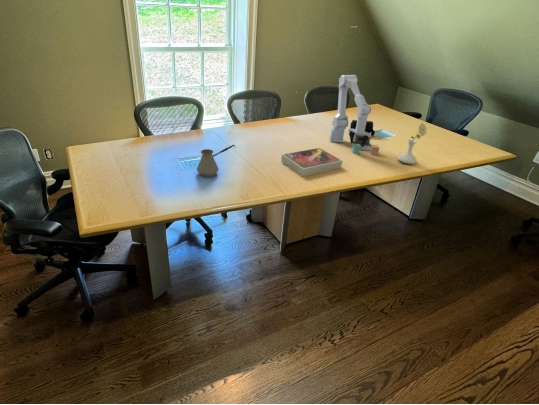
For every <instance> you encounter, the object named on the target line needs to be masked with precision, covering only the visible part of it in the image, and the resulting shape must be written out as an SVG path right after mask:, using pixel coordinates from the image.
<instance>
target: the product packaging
mask: <svg viewBox="0 0 539 405" xmlns="http://www.w3.org/2000/svg"><path fill="white" fill-rule="evenodd" d="M281 163H283V164H284V165H286V166H287V167H289V168H290V169H291V170H293V172H296V173H297V174H298V175H299V176H301V177H305V176H310V175H314V174H319V173H324V172H327V171H332V170H333V171H334V170H336V169H337V170H338V169H340V168H342V165H343V164H342V163H343V160H342V159H341V158H339V157H337V156H336V155H334V154H332V153H330V152H329V151H326V150H325V149H323V148H321V147H316V148H315V147H314V148H309V149H304V150H298V151H293V152H287V153H283V154H281Z"/></svg>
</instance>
